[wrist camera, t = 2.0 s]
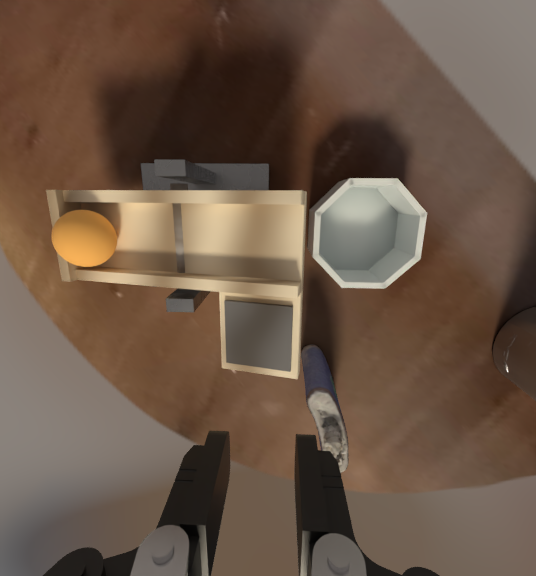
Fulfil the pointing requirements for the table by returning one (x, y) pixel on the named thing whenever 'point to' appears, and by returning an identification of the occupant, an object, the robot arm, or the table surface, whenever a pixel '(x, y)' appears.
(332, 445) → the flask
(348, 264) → the cup
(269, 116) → the table surface
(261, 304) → the lever
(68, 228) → the ball
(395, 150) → the table surface
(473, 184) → the table surface
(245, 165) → the lever stand
